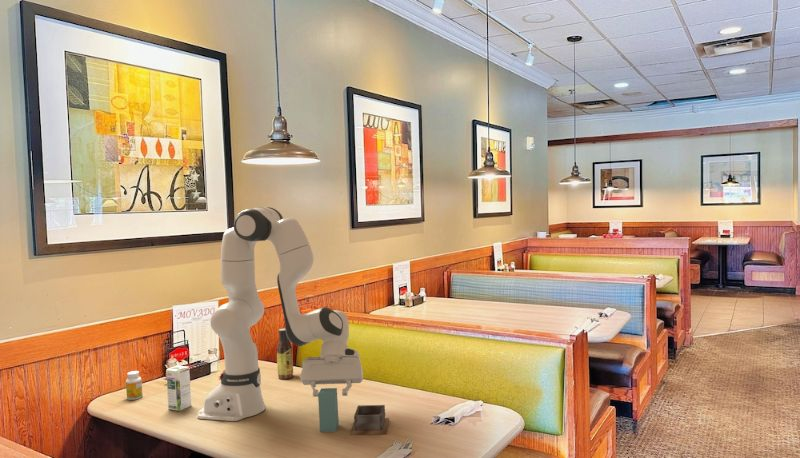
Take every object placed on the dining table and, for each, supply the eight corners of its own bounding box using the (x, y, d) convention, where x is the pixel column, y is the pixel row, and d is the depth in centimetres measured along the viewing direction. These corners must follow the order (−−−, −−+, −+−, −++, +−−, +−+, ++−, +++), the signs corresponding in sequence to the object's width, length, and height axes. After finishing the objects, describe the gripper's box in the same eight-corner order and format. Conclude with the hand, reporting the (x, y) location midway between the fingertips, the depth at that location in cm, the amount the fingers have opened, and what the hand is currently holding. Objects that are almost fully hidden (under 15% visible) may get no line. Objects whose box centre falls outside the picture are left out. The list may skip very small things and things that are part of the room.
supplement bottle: (123, 399, 207) (121, 374, 206) (135, 394, 212) (133, 369, 211) (134, 400, 205) (132, 375, 204) (145, 395, 210) (144, 370, 209)
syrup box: (167, 409, 195) (164, 369, 194) (180, 403, 200) (178, 364, 199) (179, 411, 192) (176, 370, 191) (192, 405, 197) (189, 366, 197)
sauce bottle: (289, 380, 221) (287, 331, 220) (275, 379, 222) (272, 331, 221) (296, 374, 227) (293, 327, 226) (282, 374, 229) (279, 327, 228)
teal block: (320, 431, 170) (318, 394, 169) (323, 425, 175) (321, 388, 174) (335, 431, 170) (334, 393, 169) (338, 425, 175) (336, 388, 174)
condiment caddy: (350, 434, 167) (349, 417, 166) (355, 421, 177) (354, 404, 176) (386, 434, 166) (385, 416, 166) (389, 420, 176) (388, 404, 176)
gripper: (301, 352, 181) (295, 392, 172) (362, 350, 180) (360, 390, 171) (305, 362, 186) (299, 400, 177) (364, 359, 185) (362, 398, 176)
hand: (330, 395), depth 174 cm, fingers open, 8 cm apart
